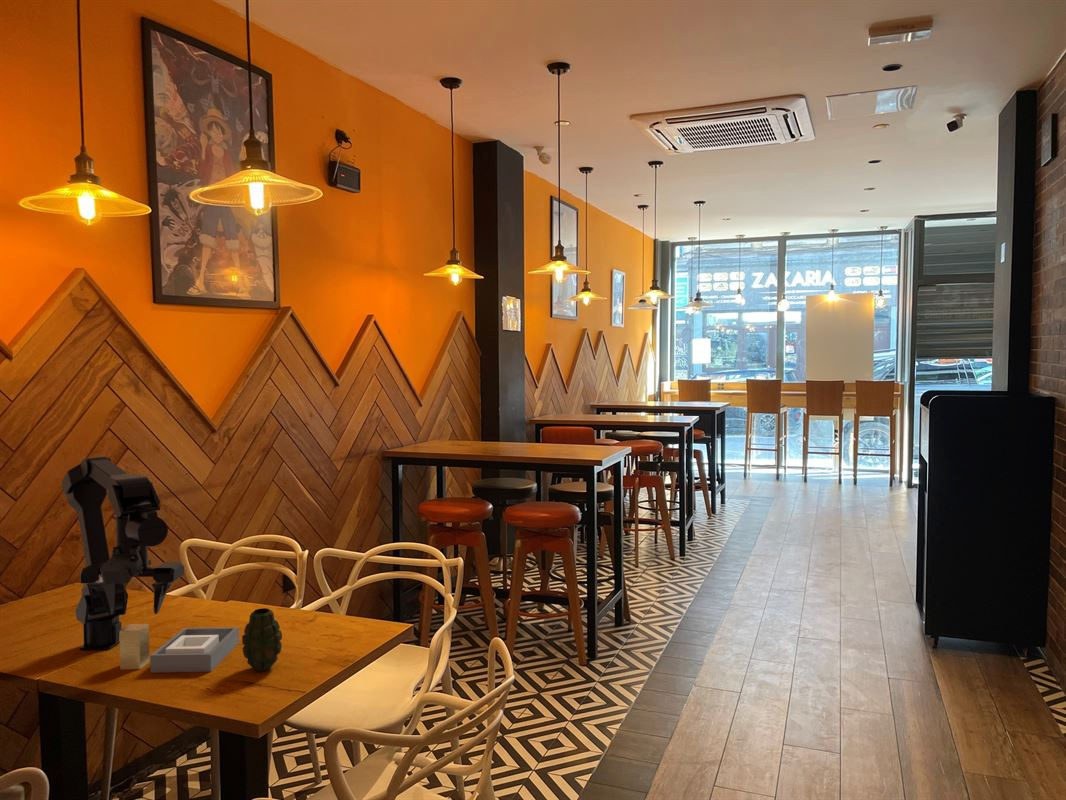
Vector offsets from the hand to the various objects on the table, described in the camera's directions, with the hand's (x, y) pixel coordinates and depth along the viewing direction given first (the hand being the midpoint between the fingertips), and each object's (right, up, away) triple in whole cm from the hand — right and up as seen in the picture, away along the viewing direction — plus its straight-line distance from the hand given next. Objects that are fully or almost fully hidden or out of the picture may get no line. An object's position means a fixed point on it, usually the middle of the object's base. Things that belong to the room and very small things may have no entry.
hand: (133, 613), depth 155 cm
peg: (0, -11, 0) cm, 11 cm away
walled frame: (+11, -11, +5) cm, 16 cm away
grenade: (+27, -11, -2) cm, 29 cm away
